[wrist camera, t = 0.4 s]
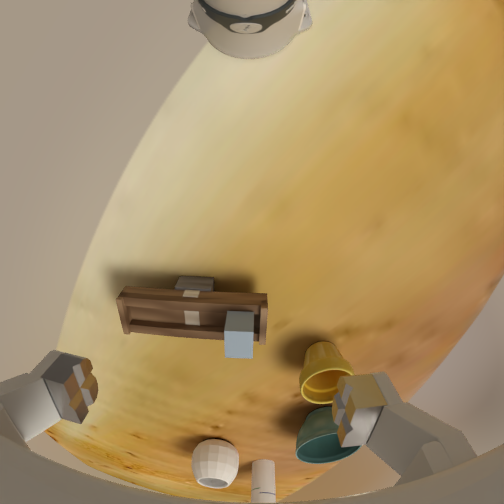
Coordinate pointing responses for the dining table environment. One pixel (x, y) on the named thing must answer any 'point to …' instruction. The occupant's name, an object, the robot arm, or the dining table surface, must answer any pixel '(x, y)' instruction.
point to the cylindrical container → (263, 481)
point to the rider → (239, 334)
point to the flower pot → (321, 439)
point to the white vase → (215, 463)
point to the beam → (188, 310)
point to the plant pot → (322, 372)
